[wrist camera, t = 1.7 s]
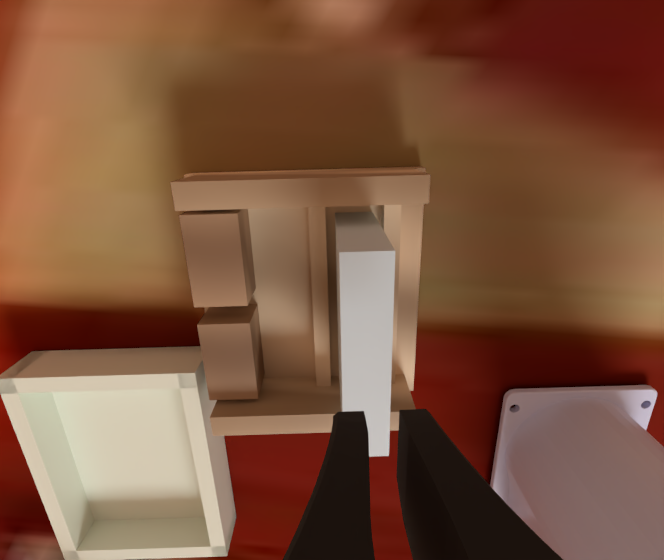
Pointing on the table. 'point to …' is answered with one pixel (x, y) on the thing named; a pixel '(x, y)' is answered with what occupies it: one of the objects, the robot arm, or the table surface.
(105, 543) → the tray
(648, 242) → the table surface
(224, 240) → the offcut
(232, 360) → the offcut
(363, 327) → the block
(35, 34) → the table surface
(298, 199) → the rack
